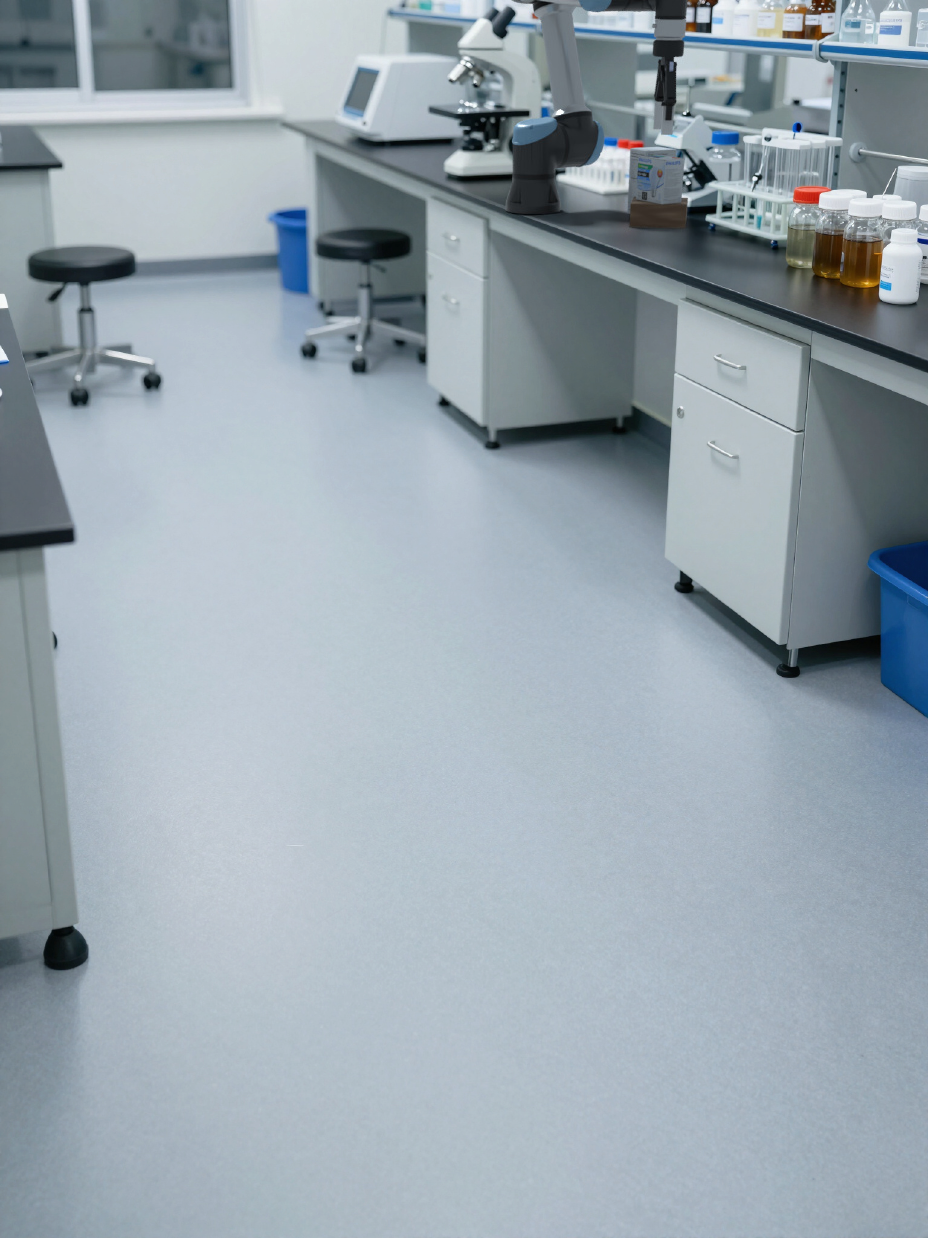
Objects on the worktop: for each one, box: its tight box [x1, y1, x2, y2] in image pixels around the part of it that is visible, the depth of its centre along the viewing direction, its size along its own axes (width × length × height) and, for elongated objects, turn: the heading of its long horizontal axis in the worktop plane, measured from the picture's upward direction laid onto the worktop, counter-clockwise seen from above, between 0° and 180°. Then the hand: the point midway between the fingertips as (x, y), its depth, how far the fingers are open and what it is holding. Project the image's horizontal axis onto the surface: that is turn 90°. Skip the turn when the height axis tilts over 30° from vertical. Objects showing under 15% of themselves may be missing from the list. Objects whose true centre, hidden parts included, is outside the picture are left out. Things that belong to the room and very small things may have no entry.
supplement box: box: [626, 146, 677, 215], centre depth 337 cm, size 10×9×17 cm
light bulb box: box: [636, 155, 685, 205], centre depth 321 cm, size 11×7×11 cm, turn 33°
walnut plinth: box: [629, 197, 689, 229], centre depth 326 cm, size 14×14×6 cm
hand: (662, 131), depth 318 cm, fingers open, 13 cm apart
